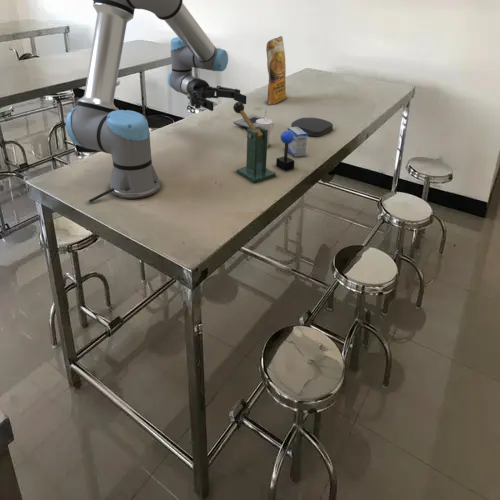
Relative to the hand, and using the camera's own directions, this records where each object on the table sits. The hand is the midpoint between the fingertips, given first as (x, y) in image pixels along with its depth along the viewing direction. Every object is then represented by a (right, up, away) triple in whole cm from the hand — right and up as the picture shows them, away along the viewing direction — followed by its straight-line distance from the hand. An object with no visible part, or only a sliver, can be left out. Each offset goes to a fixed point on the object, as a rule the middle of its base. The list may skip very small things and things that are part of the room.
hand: (229, 103), depth 164 cm
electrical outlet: (+8, +3, +40) cm, 41 cm away
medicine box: (+24, -13, +17) cm, 33 cm away
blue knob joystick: (+19, -21, +6) cm, 29 cm away
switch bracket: (+9, -24, 0) cm, 26 cm away
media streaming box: (+33, +1, +38) cm, 50 cm away
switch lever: (+6, -8, -4) cm, 11 cm away
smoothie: (+12, -10, +22) cm, 27 cm away
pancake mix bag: (+19, +23, +71) cm, 77 cm away
